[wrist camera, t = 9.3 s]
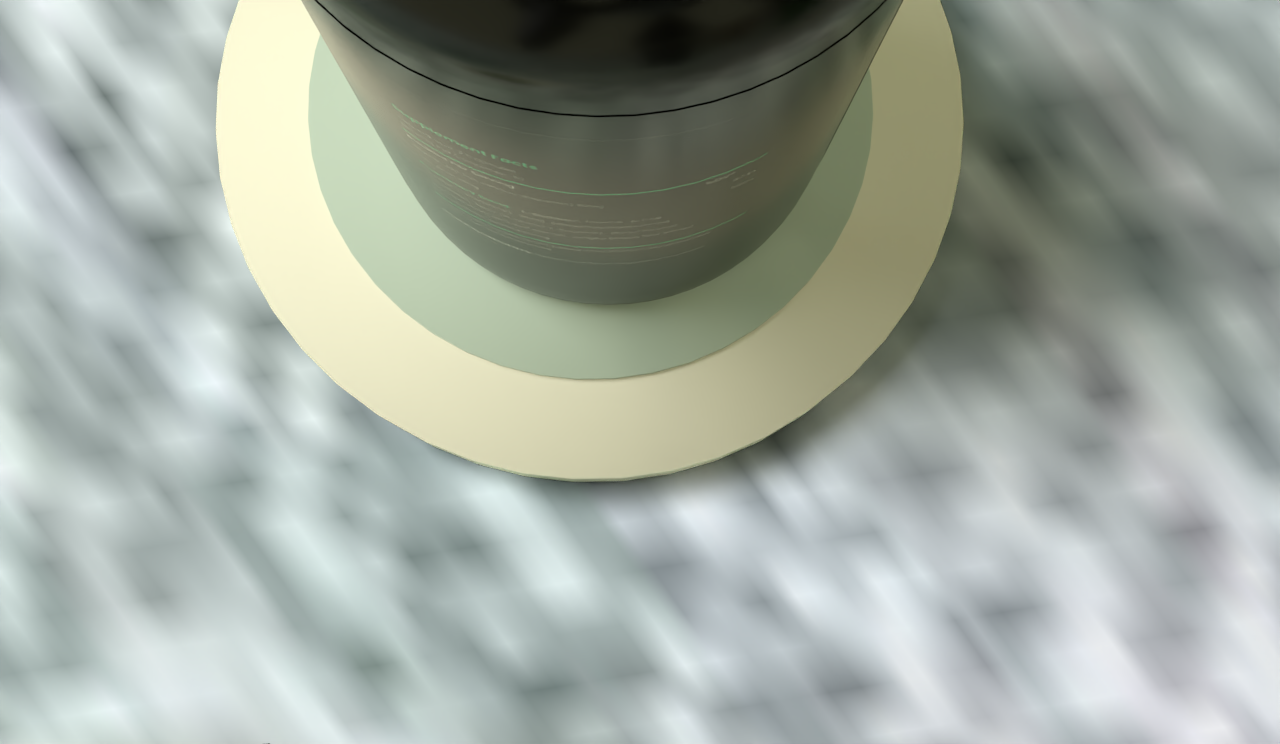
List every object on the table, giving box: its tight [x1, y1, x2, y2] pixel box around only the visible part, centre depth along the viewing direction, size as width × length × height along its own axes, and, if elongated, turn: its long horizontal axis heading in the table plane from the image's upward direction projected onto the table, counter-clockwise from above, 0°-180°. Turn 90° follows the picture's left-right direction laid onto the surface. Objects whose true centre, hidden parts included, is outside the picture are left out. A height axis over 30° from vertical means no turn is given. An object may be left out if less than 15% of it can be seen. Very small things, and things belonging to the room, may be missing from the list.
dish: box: [216, 0, 964, 482], centre depth 18 cm, size 12×12×1 cm
